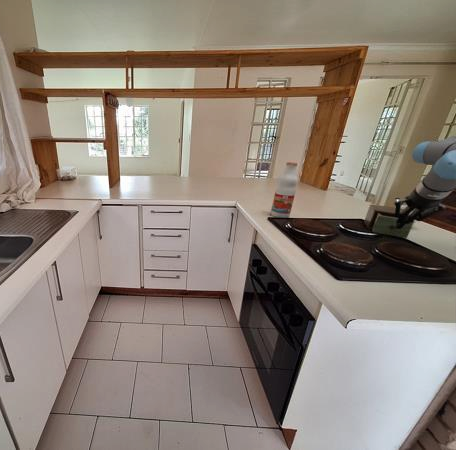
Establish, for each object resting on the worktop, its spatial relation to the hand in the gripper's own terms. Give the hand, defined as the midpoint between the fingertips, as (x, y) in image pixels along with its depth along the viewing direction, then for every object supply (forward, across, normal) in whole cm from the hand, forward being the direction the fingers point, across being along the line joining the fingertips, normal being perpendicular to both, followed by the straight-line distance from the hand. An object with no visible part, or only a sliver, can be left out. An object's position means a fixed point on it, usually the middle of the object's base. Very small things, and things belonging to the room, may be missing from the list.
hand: (398, 225), depth 95 cm
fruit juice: (+12, -44, +1) cm, 45 cm away
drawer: (+14, 0, +5) cm, 15 cm away
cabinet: (+21, 0, +10) cm, 23 cm away
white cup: (+30, +10, +20) cm, 37 cm away
